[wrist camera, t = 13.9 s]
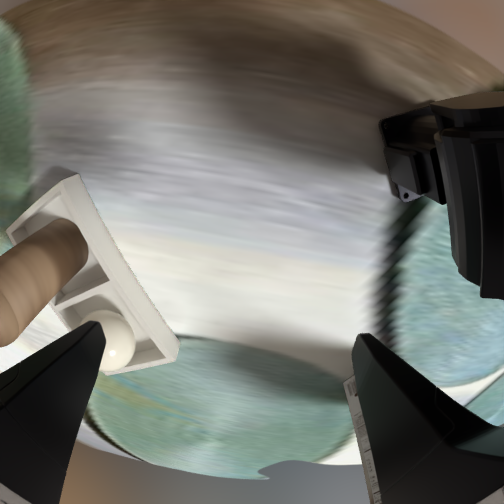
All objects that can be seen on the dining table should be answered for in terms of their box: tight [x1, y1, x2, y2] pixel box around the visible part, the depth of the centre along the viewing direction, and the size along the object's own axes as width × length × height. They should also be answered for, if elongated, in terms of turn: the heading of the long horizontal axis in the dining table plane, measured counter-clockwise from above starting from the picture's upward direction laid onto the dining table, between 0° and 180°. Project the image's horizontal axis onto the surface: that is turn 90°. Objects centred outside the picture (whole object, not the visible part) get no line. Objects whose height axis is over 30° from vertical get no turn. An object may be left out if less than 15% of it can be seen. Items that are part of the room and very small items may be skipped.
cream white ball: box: [78, 310, 136, 372], centre depth 22 cm, size 6×6×6 cm
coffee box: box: [343, 375, 382, 504], centre depth 22 cm, size 9×6×16 cm
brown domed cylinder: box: [0, 218, 89, 347], centre depth 16 cm, size 5×5×12 cm
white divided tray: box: [6, 174, 181, 376], centre depth 22 cm, size 9×18×2 cm, turn 23°
